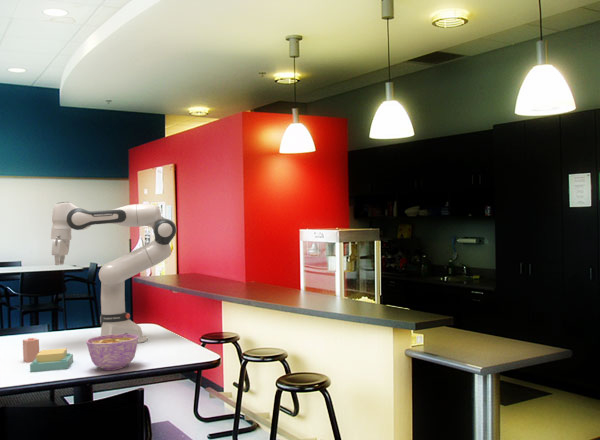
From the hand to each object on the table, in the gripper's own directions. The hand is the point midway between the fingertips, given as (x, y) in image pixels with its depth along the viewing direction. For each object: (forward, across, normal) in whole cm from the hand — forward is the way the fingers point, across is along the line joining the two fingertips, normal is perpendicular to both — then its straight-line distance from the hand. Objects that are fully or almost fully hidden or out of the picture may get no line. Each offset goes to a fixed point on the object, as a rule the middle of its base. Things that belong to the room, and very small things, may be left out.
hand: (59, 264), depth 284 cm
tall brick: (+40, -25, +4) cm, 48 cm away
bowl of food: (+38, -51, -33) cm, 72 cm away
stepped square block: (+40, -40, -8) cm, 57 cm away
